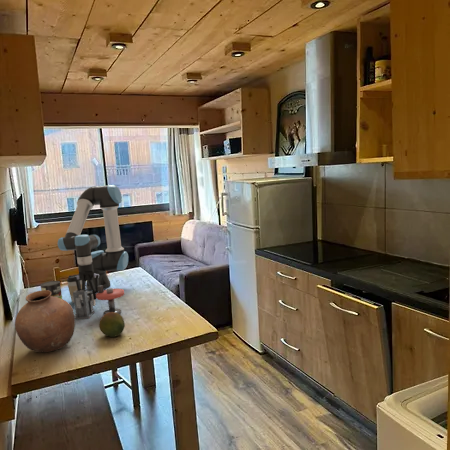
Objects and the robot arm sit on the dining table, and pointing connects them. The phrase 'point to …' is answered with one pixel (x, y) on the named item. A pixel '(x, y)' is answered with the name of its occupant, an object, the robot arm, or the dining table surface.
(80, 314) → the grey block assembly
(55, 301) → the pottery
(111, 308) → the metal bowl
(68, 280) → the coffee cup
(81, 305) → the hook rod
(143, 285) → the dining table surface
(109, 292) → the pot lid
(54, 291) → the coffee can
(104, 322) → the fruit
